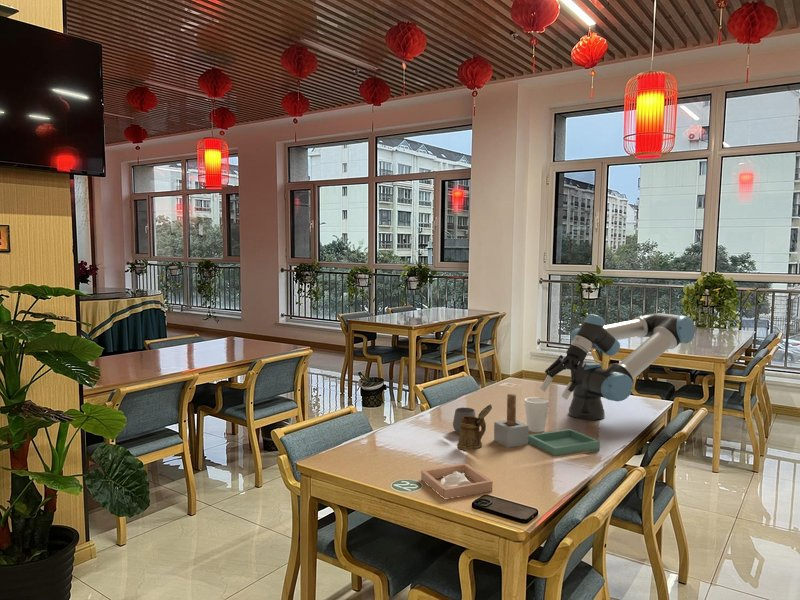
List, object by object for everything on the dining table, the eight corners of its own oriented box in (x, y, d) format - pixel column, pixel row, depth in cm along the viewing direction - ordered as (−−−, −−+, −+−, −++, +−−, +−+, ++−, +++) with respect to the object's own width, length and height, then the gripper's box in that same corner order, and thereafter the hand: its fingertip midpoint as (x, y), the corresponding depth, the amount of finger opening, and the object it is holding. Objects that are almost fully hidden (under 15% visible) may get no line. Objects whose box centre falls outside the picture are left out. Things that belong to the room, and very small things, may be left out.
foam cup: (548, 436, 227) (549, 403, 225) (524, 434, 228) (524, 402, 227) (547, 429, 236) (548, 397, 235) (524, 427, 238) (524, 396, 237)
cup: (452, 431, 233) (452, 406, 232) (475, 431, 233) (475, 406, 232) (453, 438, 224) (453, 413, 223) (477, 438, 224) (478, 413, 223)
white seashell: (468, 480, 173) (436, 476, 176) (468, 494, 173) (436, 490, 176) (473, 468, 182) (443, 464, 185) (473, 481, 183) (443, 478, 186)
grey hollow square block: (514, 439, 223) (514, 419, 222) (528, 446, 214) (528, 425, 214) (494, 442, 219) (494, 421, 219) (507, 450, 211) (507, 428, 210)
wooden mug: (483, 457, 204) (483, 406, 202) (452, 448, 213) (452, 400, 212) (497, 450, 211) (497, 401, 209) (466, 442, 220) (467, 395, 218)
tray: (570, 437, 225) (570, 428, 225) (599, 450, 211) (599, 441, 210) (527, 444, 217) (527, 435, 217) (554, 458, 203) (554, 448, 202)
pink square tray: (465, 471, 190) (465, 463, 190) (492, 490, 175) (493, 481, 175) (420, 479, 184) (420, 470, 183) (444, 500, 169) (444, 490, 168)
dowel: (512, 440, 219) (512, 393, 217) (516, 442, 216) (517, 395, 214) (504, 441, 218) (505, 394, 216) (509, 444, 215) (510, 396, 213)
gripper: (553, 339, 245) (528, 382, 241) (594, 349, 222) (567, 396, 218) (564, 349, 247) (539, 391, 244) (607, 359, 224) (580, 406, 221)
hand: (553, 394), depth 231 cm, fingers open, 13 cm apart
